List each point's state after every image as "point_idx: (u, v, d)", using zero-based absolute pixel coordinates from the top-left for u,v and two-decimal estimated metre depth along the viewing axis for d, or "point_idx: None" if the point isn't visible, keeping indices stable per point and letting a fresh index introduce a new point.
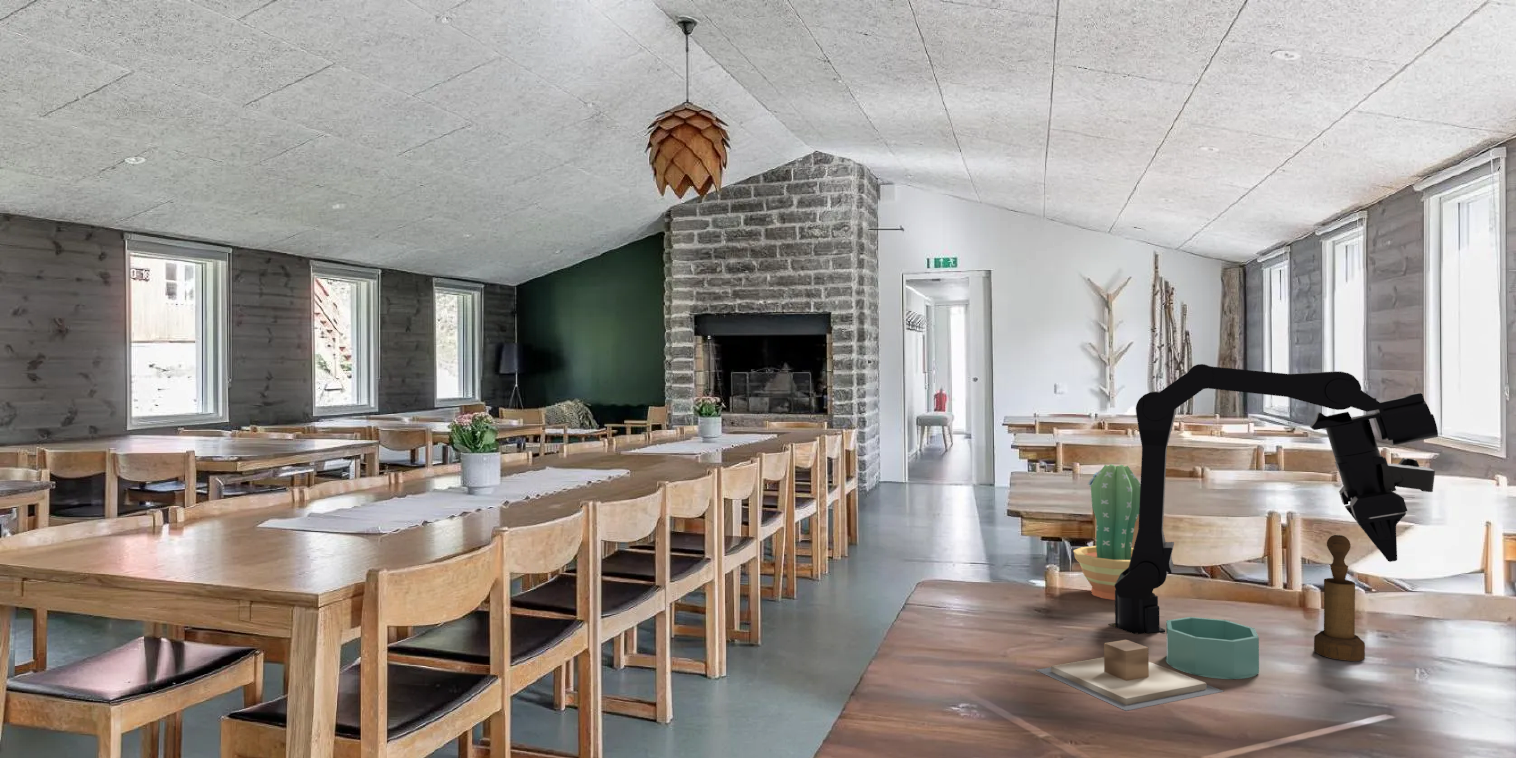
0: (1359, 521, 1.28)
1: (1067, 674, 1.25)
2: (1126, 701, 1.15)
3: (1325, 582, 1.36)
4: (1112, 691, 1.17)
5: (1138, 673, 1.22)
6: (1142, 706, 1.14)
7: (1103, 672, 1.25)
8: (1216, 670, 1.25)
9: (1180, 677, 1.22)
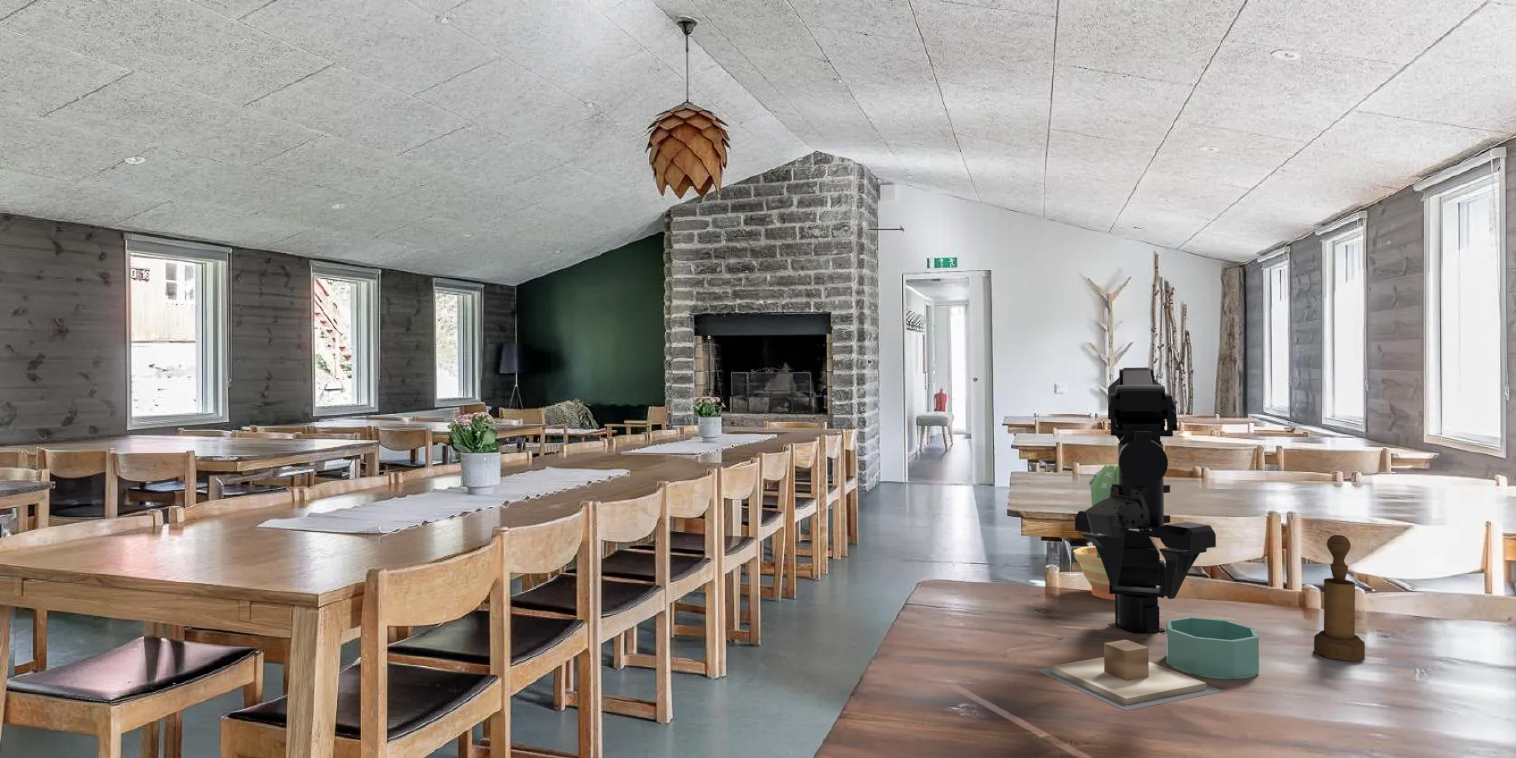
0: None
1: (1067, 674, 1.25)
2: (1126, 701, 1.15)
3: (1325, 582, 1.36)
4: (1112, 691, 1.17)
5: (1138, 673, 1.22)
6: (1142, 706, 1.14)
7: (1103, 672, 1.25)
8: (1216, 670, 1.25)
9: (1180, 677, 1.22)
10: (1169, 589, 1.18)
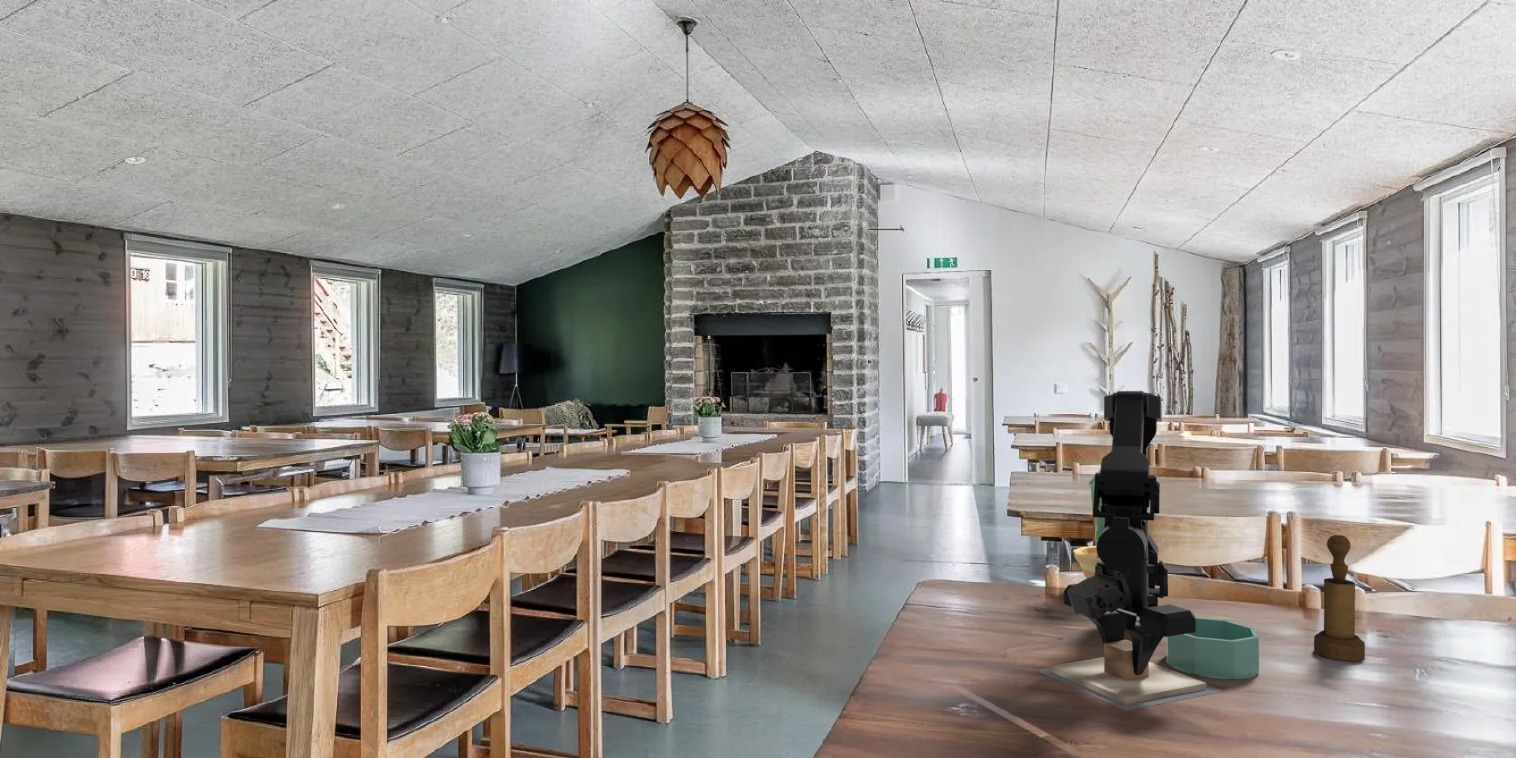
0: None
1: (1067, 674, 1.25)
2: (1126, 701, 1.15)
3: (1325, 582, 1.36)
4: (1112, 691, 1.17)
5: None
6: (1142, 706, 1.14)
7: (1103, 672, 1.25)
8: (1216, 670, 1.25)
9: (1180, 677, 1.22)
10: (1136, 666, 1.21)
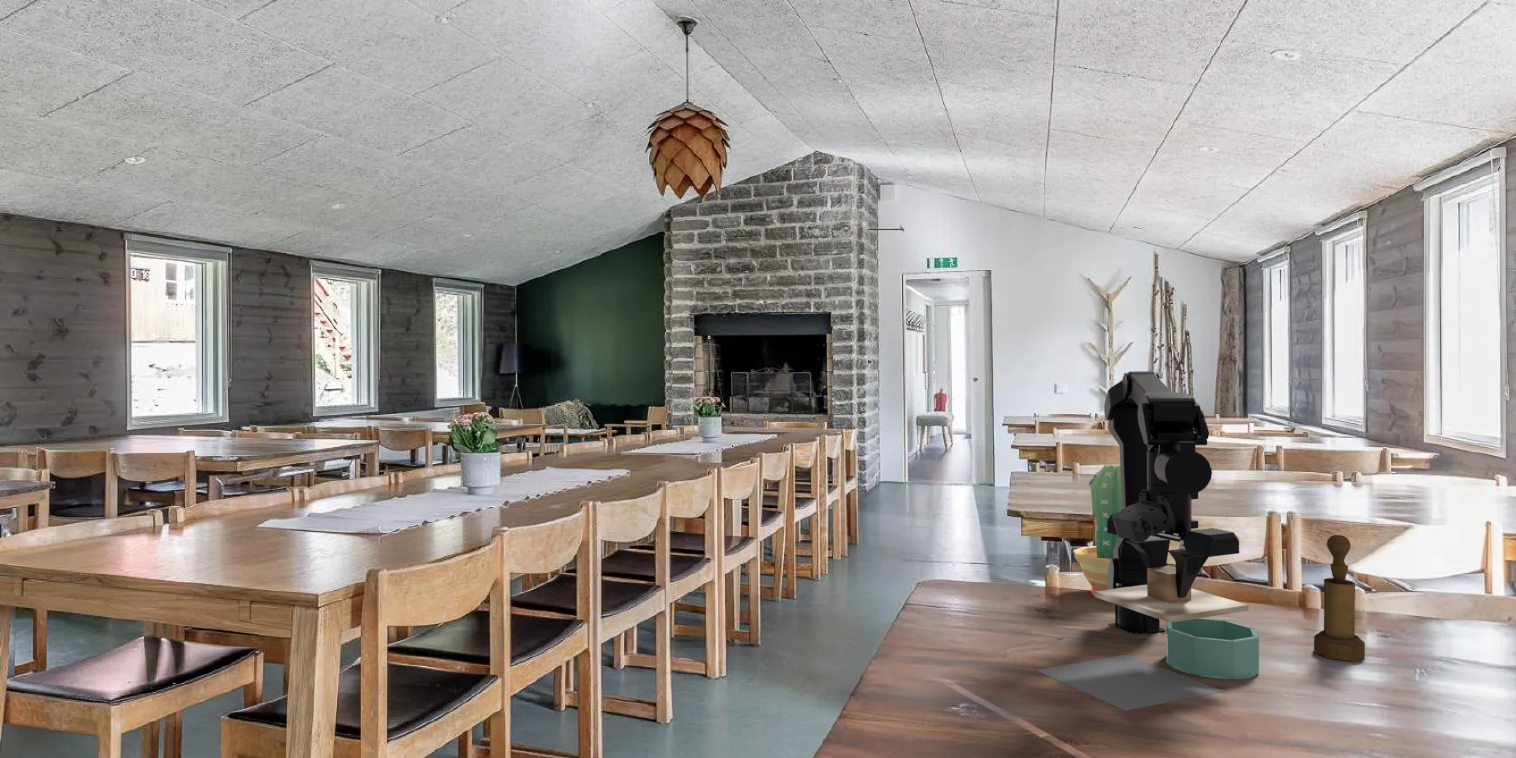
0: None
1: (1111, 598, 1.28)
2: (1170, 619, 1.18)
3: (1325, 582, 1.36)
4: (1156, 611, 1.21)
5: None
6: (1142, 706, 1.14)
7: (1146, 596, 1.28)
8: (1216, 670, 1.25)
9: (1222, 600, 1.25)
10: (1179, 588, 1.25)
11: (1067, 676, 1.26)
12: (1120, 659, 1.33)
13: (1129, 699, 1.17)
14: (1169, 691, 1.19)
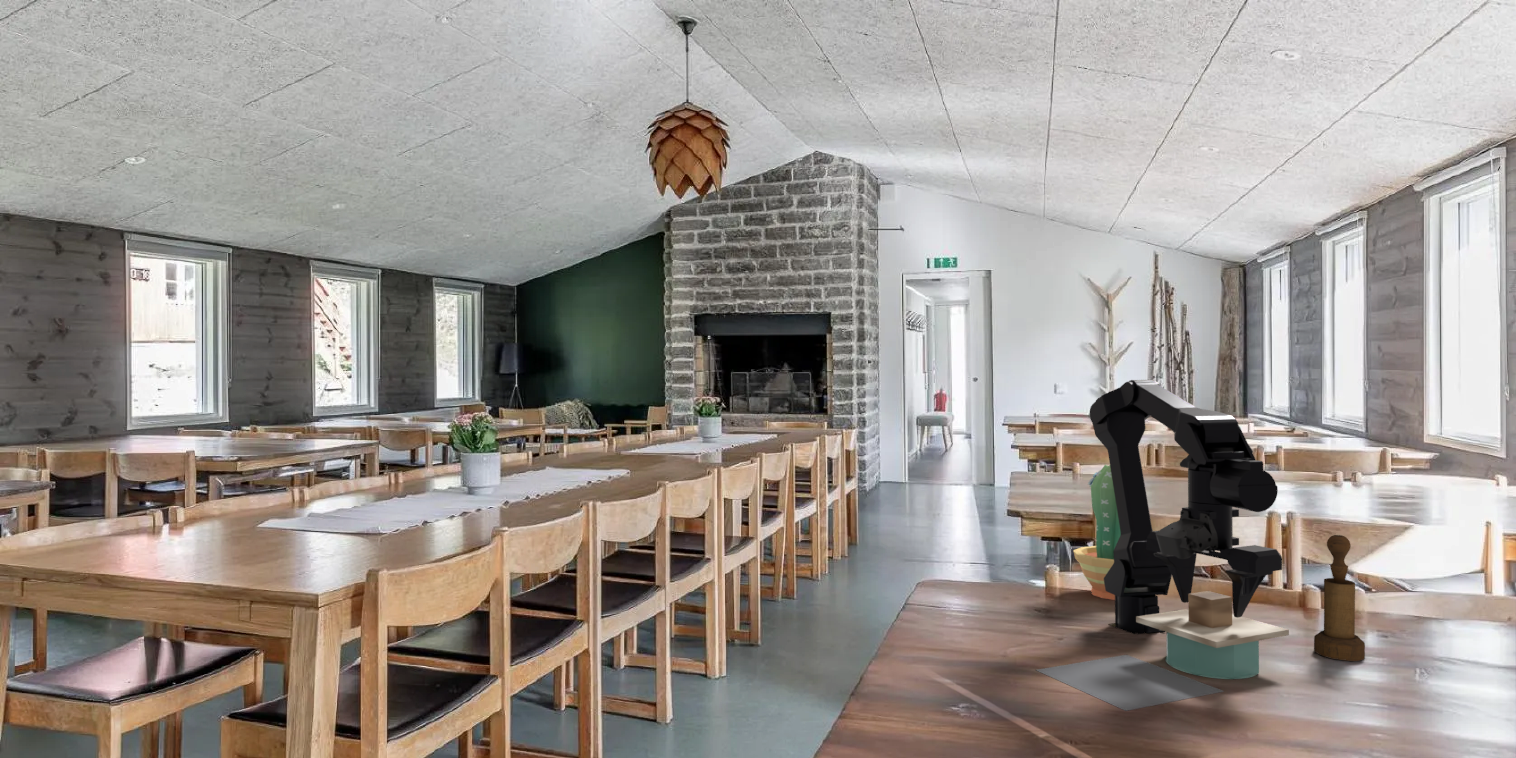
0: None
1: (1153, 623, 1.31)
2: (1216, 644, 1.21)
3: (1325, 582, 1.36)
4: (1201, 636, 1.24)
5: (1223, 621, 1.28)
6: (1142, 706, 1.14)
7: (1188, 621, 1.31)
8: (1216, 670, 1.25)
9: (1262, 625, 1.29)
10: (1236, 608, 1.25)
11: (1067, 676, 1.26)
12: (1120, 659, 1.33)
13: (1129, 699, 1.17)
14: (1169, 691, 1.19)
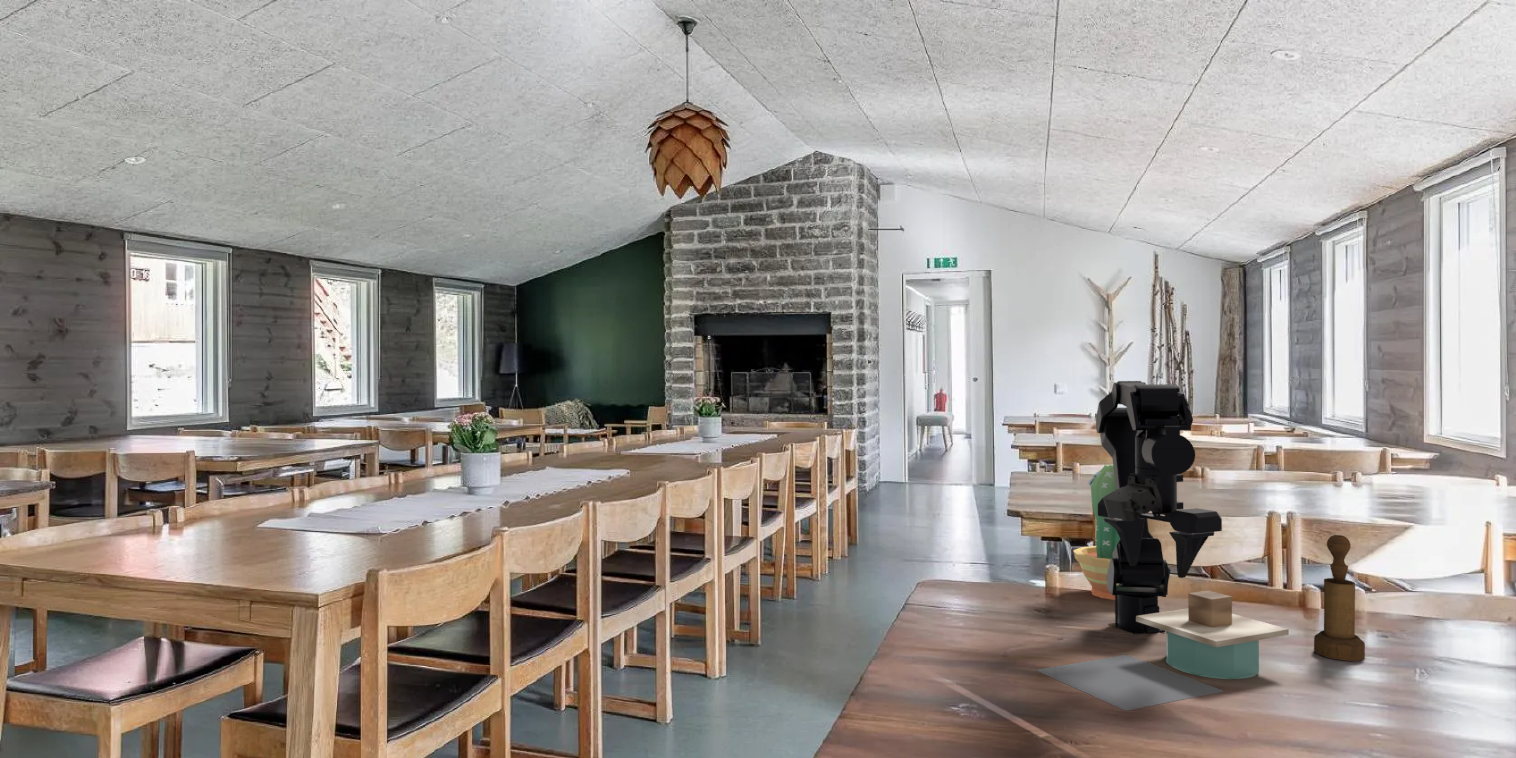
0: None
1: (1153, 622, 1.31)
2: (1216, 644, 1.21)
3: (1325, 582, 1.36)
4: (1201, 635, 1.24)
5: (1222, 620, 1.28)
6: (1142, 706, 1.14)
7: (1187, 621, 1.31)
8: (1216, 670, 1.25)
9: (1262, 624, 1.29)
10: (1179, 569, 1.30)
11: (1067, 676, 1.26)
12: (1120, 659, 1.33)
13: (1129, 699, 1.17)
14: (1169, 691, 1.19)
